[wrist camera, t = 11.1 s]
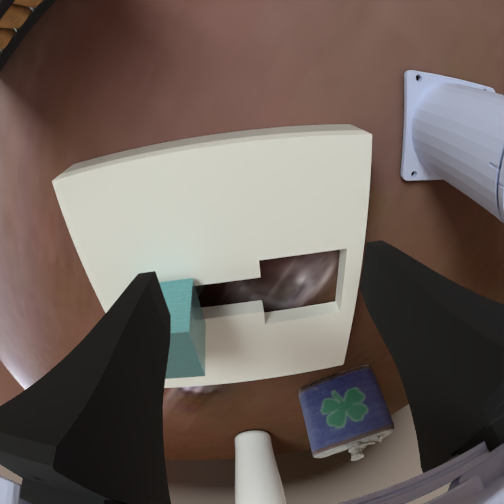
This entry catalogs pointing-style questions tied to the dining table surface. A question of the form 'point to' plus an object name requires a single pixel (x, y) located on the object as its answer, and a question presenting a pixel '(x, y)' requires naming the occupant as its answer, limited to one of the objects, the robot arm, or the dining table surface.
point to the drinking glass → (256, 470)
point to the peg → (185, 329)
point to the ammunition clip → (18, 23)
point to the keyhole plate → (230, 234)
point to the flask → (345, 412)
